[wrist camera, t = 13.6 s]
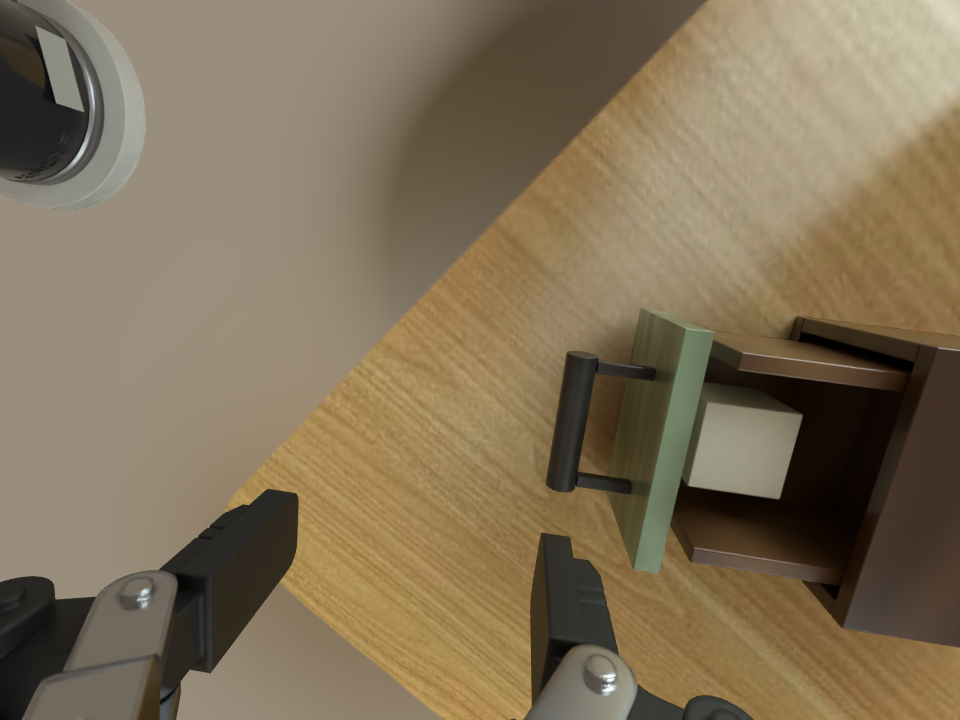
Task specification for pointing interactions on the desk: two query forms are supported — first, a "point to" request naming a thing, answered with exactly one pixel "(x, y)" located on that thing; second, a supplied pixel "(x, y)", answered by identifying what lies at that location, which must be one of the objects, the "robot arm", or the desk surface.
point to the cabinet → (905, 496)
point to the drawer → (725, 515)
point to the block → (740, 441)
